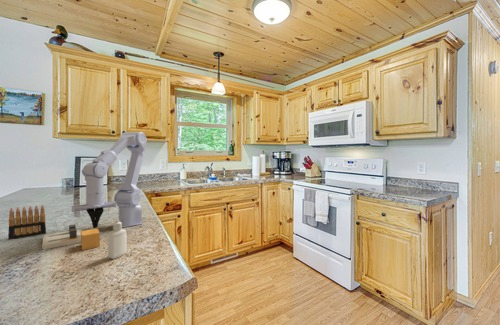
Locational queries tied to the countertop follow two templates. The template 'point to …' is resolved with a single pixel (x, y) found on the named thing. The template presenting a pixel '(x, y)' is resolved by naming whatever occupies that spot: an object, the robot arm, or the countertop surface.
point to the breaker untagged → (71, 227)
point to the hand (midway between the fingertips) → (95, 227)
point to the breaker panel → (59, 239)
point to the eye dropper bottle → (117, 241)
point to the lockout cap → (90, 239)
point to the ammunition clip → (29, 228)
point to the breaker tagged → (73, 233)
